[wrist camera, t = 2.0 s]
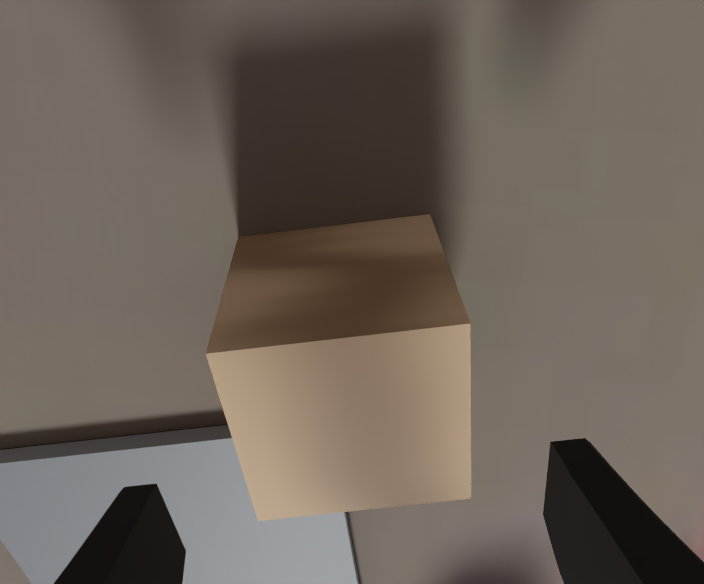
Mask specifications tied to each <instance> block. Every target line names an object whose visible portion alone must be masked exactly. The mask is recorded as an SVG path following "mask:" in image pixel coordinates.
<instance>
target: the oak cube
mask: <svg viewBox="0 0 704 584" xmlns="http://www.w3.org/2000/svg"><path fill="white" fill-rule="evenodd" d="M206 356H207V359H208V362H209V366H210V369H211V372H212V375H213V378H214V382H215V385H216V388H217V391H218V395H219V398H220V401H221V404H222V407H223V411H224V414H225V417H226V420H227V423H228V427H229V430H230V433H231V436H232V439H233V443H234V446H235V449H236V452H237V456H238V459H239V462H240V465H241V468H242V472H243V475H244V478H245V481H246V484H247V488H248V491H249V494H250V497H251V500H252V504H253V507H254V510H255V513H256V517H257V520H258V521H265V520H274V519H284V518H293V517H302V516H312V515H321V514H330V513H340V512H349V511H358V510H368V509H377V508H386V507H396V506H405V505H415V504H424V503H433V502H443V501H452V500H461V499H471V343H470V321H469V318H468V316H467V313H466V310H465V307H464V305H463V302H462V299H461V297H460V294H459V291H458V289H457V286H456V283H455V280H454V278H453V275H452V272H451V270H450V267H449V264H448V262H447V259H446V256H445V253H444V251H443V248H442V245H441V243H440V240H439V237H438V235H437V232H436V229H435V226H434V224H433V221H432V218H431V216H430V214H426V215H418V216H409V217H401V218H393V219H384V220H376V221H367V222H359V223H350V224H342V225H334V226H325V227H317V228H308V229H300V230H291V231H283V232H275V233H266V234H258V235H249V236H241V237H238V240H237V244H236V247H235V251H234V254H233V258H232V262H231V265H230V269H229V272H228V276H227V279H226V283H225V287H224V290H223V294H222V297H221V301H220V305H219V308H218V312H217V315H216V319H215V323H214V326H213V330H212V333H211V337H210V340H209V344H208V348H207V351H206Z"/></svg>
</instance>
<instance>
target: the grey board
mask: <svg viewBox="0 0 704 584" xmlns="http://www.w3.org/2000/svg"><path fill="white" fill-rule="evenodd" d="M156 483H157V486H158V488H159V490H160V493H161V495H162V497H163V499H164V502H165V504H166V506H167V509H168V511H169V513H170V515H171V518H172V520H173V522H174V525H175V527H176V529H177V531H178V534H179V536H180V538H181V541H182V543H183V545H184V547H185V550H186V556H185V565H184V573H183V582H182V584H359V578H358V573H357V567H356V562H355V556H354V551H353V545H352V540H351V534H350V529H349V523H348V518H347V512H340V513H330V514H321V515H312V516H302V517H293V518H284V519H274V520H265V521H258V520H257V517H256V513H255V510H254V507H253V504H252V500H251V497H250V494H249V491H248V488H247V484H246V481H245V478H244V475H243V472H242V468H241V465H240V462H239V459H238V456H237V452H236V449H235V446H234V443H233V439H232V436H231V433H230V430H229V427H228V425H222V426H213V427H204V428H195V429H186V430H177V431H168V432H159V433H150V434H140V435H131V436H122V437H113V438H104V439H95V440H86V441H77V442H68V443H59V444H50V445H41V446H32V447H23V448H13V449H4V450H0V540H1V541H2V543H3V544H4V545H5V547H6V548H7V550H8V551H9V552H10V554H11V555H12V557H13V558H14V560H15V561H16V562H17V564H18V565H19V567H20V568H21V569H22V571H23V572H24V574H25V575H26V577H27V578H28V579H29V581H30V582H31V584H54V582H55V581H56V580H57V578H58V577H59V576H60V574H61V573H62V572H63V570H64V569H65V568H66V566H67V565H68V564H69V562H70V561H71V559H72V558H73V557H74V555H75V554H76V553H77V551H78V550H79V548H80V547H81V546H82V544H83V543H84V541H85V540H86V539H87V537H88V536H89V534H90V533H91V532H92V530H93V529H94V527H95V526H96V525H97V523H98V522H99V520H100V519H101V518H102V516H103V515H104V513H105V512H106V510H107V509H108V508H109V506H110V505H111V503H112V502H113V501H114V499H115V498H116V497H117V495H118V494H119V492H120V491H121V490H122V489H123V488H124V487H128V486H137V485H147V484H156Z"/></svg>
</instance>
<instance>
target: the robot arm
mask: <svg viewBox="0 0 704 584" xmlns="http://www.w3.org/2000/svg"><path fill="white" fill-rule="evenodd" d="M543 516H544V519H545V523H546V526H547V530H548V534H549V537H550V541H551V544H552V548H553V551H554V554H555V558H556V561H557V564H558V568H559V571H560V574H561V576H562V579H563V581H564V584H704V562H703V561H702V560H701V559H700V558H699V557H698V556H697V555H696V554H695V553H694V552H693V551H692V550H691V549H690V548H689V547H688V546H687V545H686V544H685V543H684V542H683V541H682V540H681V539H680V538H679V537H678V536H677V535H676V534H675V533H674V532H673V531H672V530H671V529H670V528H669V527H668V526H667V525H666V524H665V523H664V522H663V521H662V520H661V519H660V518H659V517H658V516H657V515H656V514H655V513H654V512H653V511H652V510H651V509H650V508H649V507H648V506H647V505H646V504H645V503H644V502H643V501H642V499H641V498H640V497H639V496H638V495H637V494H636V493H635V492H634V491H633V490H632V489H631V488H630V487H629V486H628V484H627V483H626V482H625V481H624V480H623V479H622V478H621V477H620V476H619V475H618V473H617V472H616V471H615V470H614V469H613V468H612V467H611V466H610V465H609V463H608V462H607V461H606V460H605V459H604V458H603V457H602V455H601V454H600V453H599V452H598V451H597V450H596V449H595V448H594V446H593V445H592V444H591V443H590V442H589V441H588V440H586V439H585V438H583V439H573V440H564V441H554V442H550V452H549V462H548V472H547V482H546V492H545V501H544V511H543ZM185 556H186V550H185V547H184V545H183V543H182V541H181V538H180V536H179V534H178V531H177V529H176V527H175V525H174V522H173V520H172V518H171V515H170V513H169V511H168V509H167V506H166V504H165V502H164V499H163V497H162V495H161V493H160V490H159V488H158V486H157V483H156V484H147V485H137V486H128V487H124V488H123V489H122V490H121V491H120V492H119V494H118V495H117V497H116V498H115V499H114V501H113V502H112V503H111V505H110V506H109V508H108V509H107V510H106V512H105V513H104V515H103V516H102V518H101V519H100V520H99V522H98V523H97V525H96V526H95V527H94V529H93V530H92V532H91V533H90V534H89V536H88V537H87V539H86V540H85V541H84V543H83V544H82V546H81V547H80V548H79V550H78V551H77V553H76V554H75V555H74V557H73V558H72V559H71V561H70V562H69V564H68V565H67V566H66V568H65V569H64V570H63V572H62V573H61V574H60V576H59V577H58V578H57V580H56V581H55V582H54V584H182V582H183V573H184V565H185Z"/></svg>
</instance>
